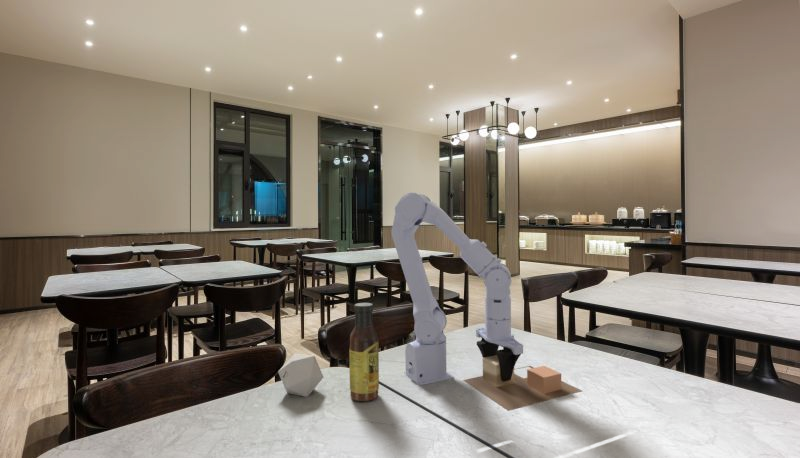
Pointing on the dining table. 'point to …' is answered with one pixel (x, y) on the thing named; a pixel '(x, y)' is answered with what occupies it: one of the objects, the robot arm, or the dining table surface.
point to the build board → (518, 391)
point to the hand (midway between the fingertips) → (498, 375)
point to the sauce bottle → (364, 355)
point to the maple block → (494, 372)
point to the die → (300, 374)
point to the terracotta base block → (544, 379)
